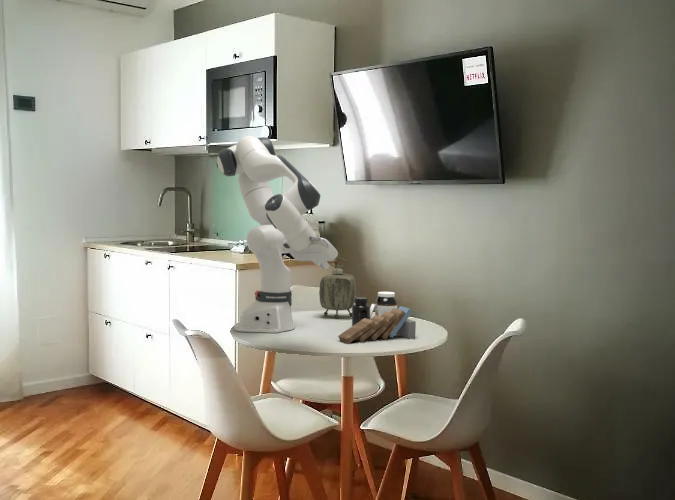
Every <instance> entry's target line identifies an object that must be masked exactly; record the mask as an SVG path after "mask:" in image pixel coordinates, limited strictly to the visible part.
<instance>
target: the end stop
mask: <svg viewBox="0 0 675 500" xmlns="http://www.w3.org/2000/svg"><path fill="white" fill-rule="evenodd" d="M416 322H417V321H415V320H412V319H409V318H408V319H407V320H406V321H405V322H404V324H403V325H402V326H401V328H400V329H399V330H398V331H397V333H396V334H395V335H394V336H398V337H402V338H404V339H405V338H406V339H409V340H410V339H416Z"/></svg>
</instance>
